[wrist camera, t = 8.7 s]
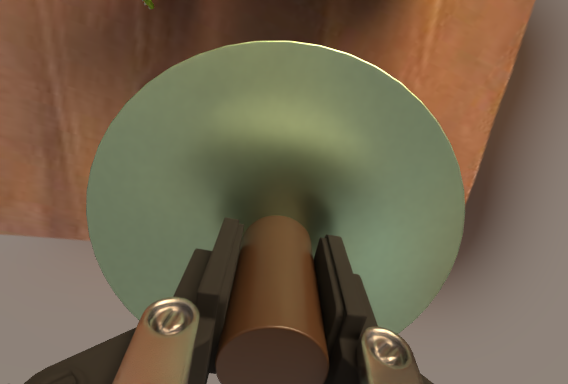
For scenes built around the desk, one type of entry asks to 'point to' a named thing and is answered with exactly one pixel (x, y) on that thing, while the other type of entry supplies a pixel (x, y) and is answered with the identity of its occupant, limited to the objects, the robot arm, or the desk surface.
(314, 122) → the tin lid
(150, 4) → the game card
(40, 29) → the desk surface
